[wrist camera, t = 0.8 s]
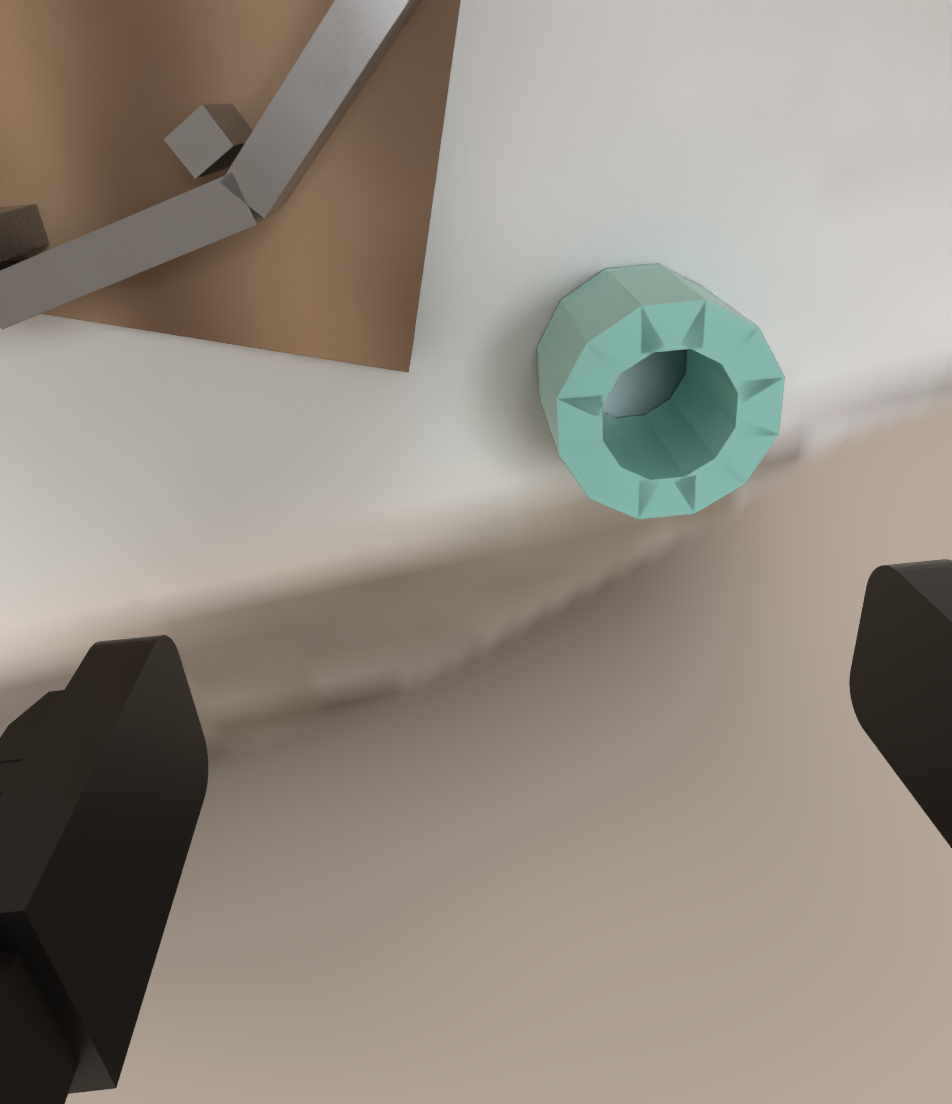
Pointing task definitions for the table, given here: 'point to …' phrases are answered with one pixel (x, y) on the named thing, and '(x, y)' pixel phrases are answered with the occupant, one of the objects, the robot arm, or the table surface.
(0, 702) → the table surface
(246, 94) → the carrier plate
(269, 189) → the ring gear
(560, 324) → the teal short hollow cylinder
